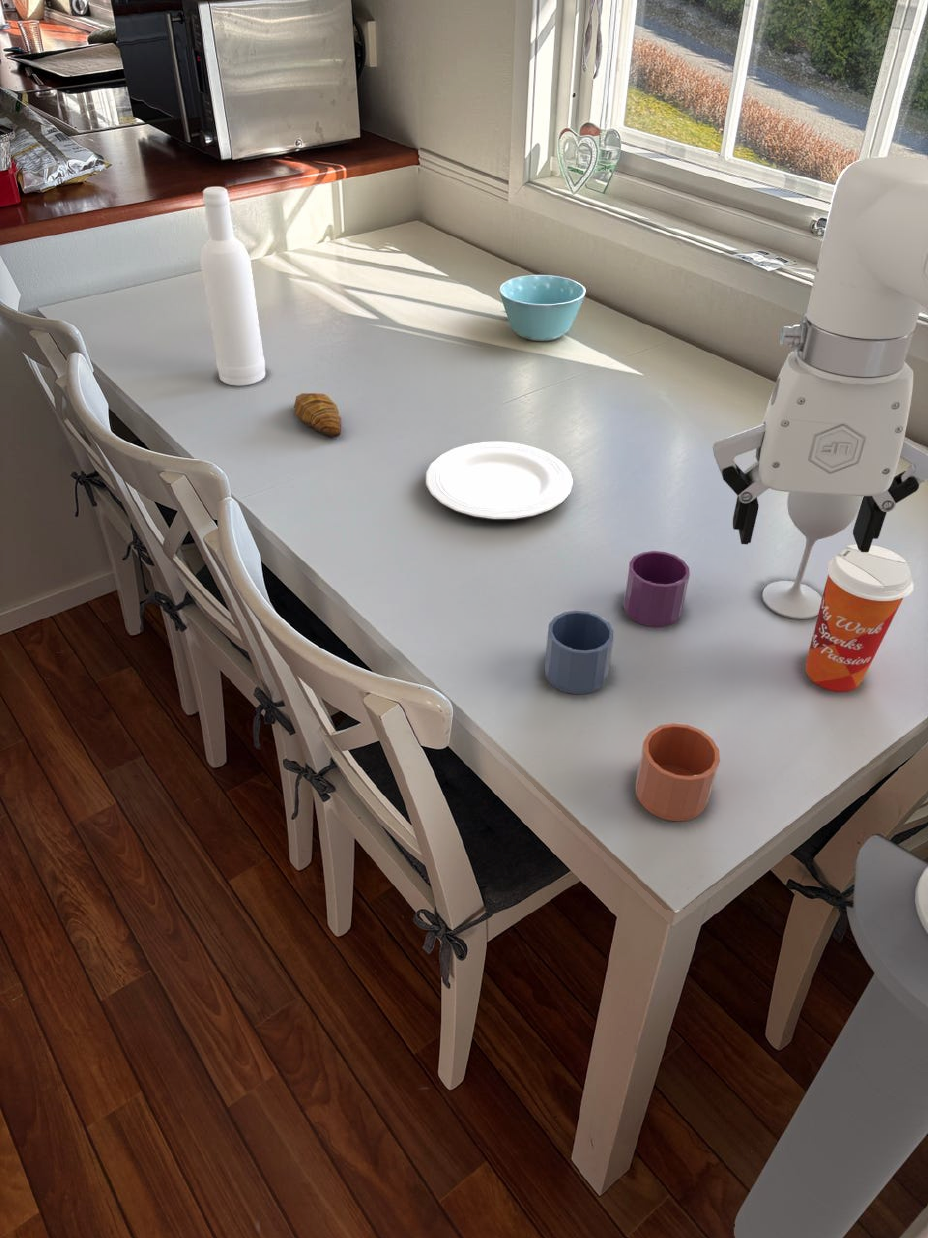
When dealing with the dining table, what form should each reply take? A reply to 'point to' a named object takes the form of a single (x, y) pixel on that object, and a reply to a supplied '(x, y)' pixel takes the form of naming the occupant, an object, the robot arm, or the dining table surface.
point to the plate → (499, 480)
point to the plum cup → (655, 588)
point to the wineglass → (809, 548)
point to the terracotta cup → (676, 771)
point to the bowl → (541, 305)
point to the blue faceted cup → (578, 652)
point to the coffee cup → (855, 614)
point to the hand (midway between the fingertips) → (801, 539)
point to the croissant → (318, 413)
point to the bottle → (230, 296)
